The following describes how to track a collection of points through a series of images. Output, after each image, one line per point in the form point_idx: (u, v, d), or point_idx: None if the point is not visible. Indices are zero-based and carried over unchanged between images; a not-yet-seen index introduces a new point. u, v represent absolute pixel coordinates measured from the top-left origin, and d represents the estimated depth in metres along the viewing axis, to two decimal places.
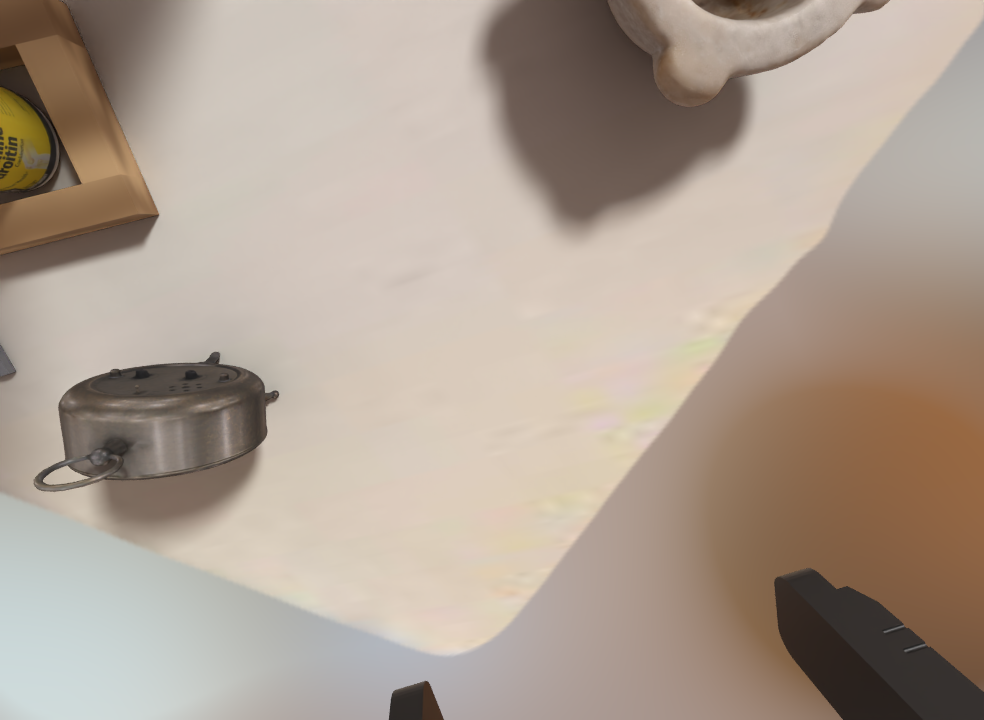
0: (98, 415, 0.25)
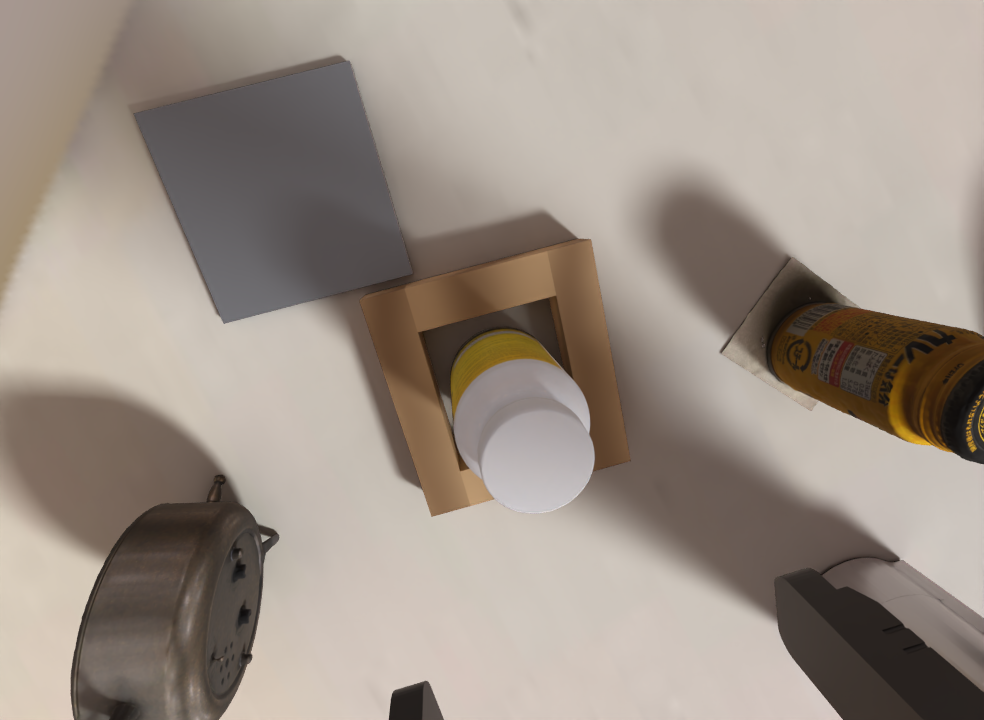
0: (172, 687, 0.19)
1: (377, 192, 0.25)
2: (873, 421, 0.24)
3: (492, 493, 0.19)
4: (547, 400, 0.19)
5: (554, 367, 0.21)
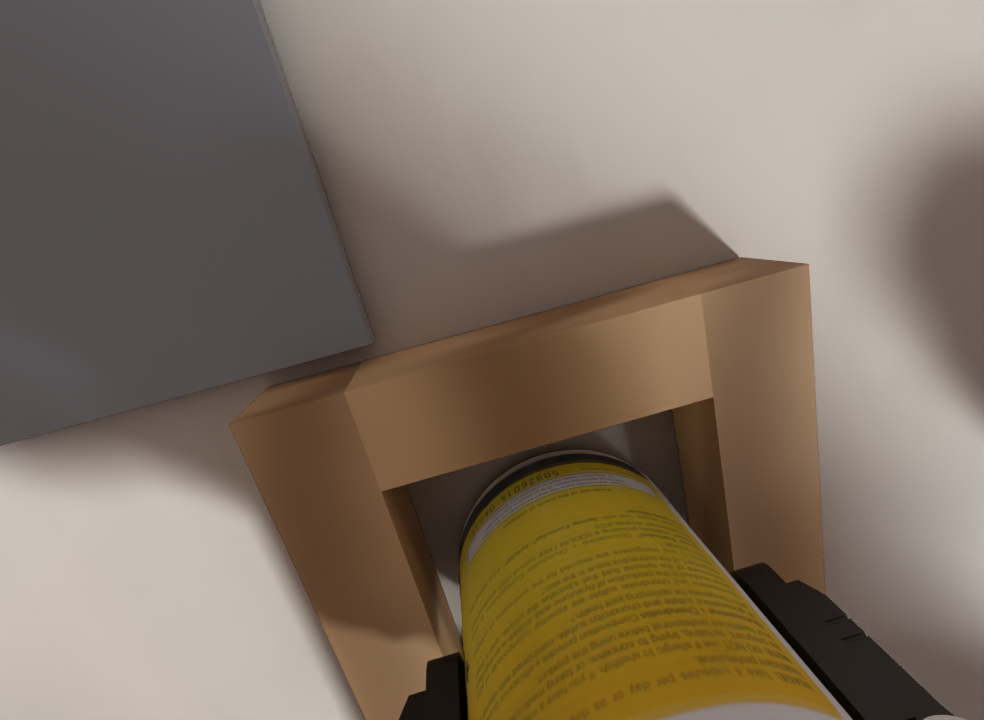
0: None
1: (276, 150, 0.10)
2: None
3: None
4: None
5: None
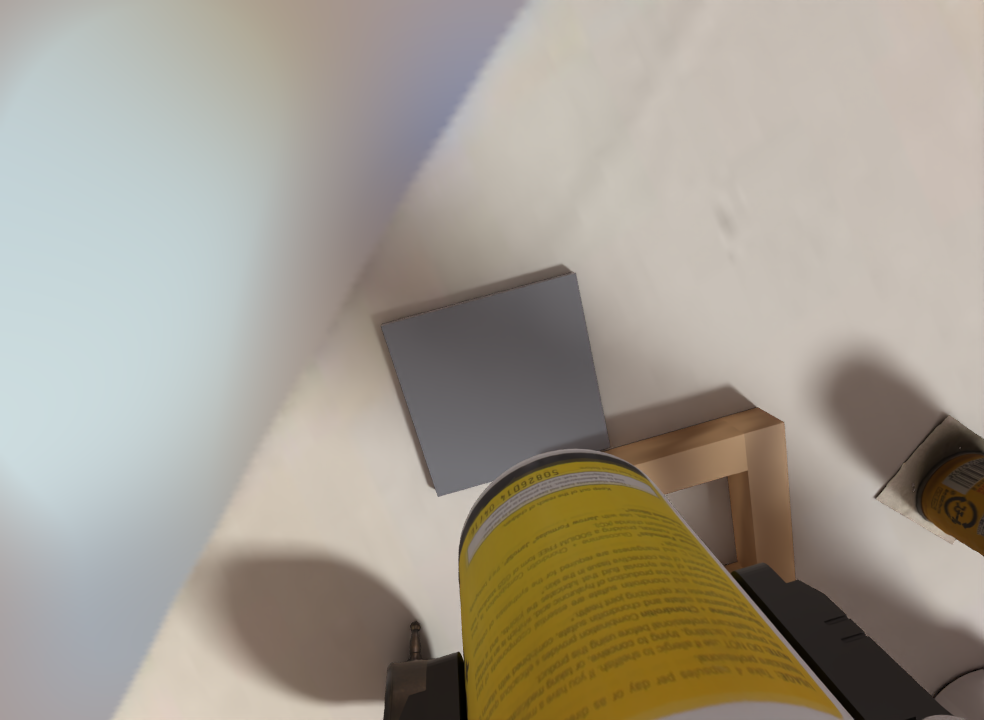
0: None
1: (587, 380, 0.27)
2: None
3: None
4: None
5: None
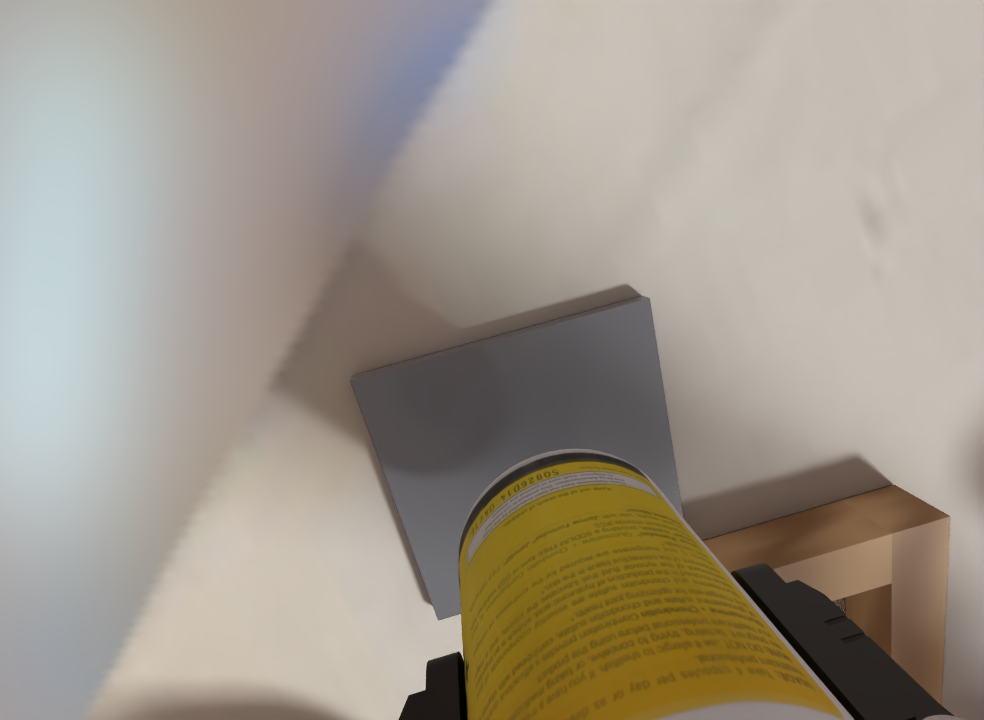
0: None
1: (659, 455, 0.18)
2: None
3: None
4: None
5: None
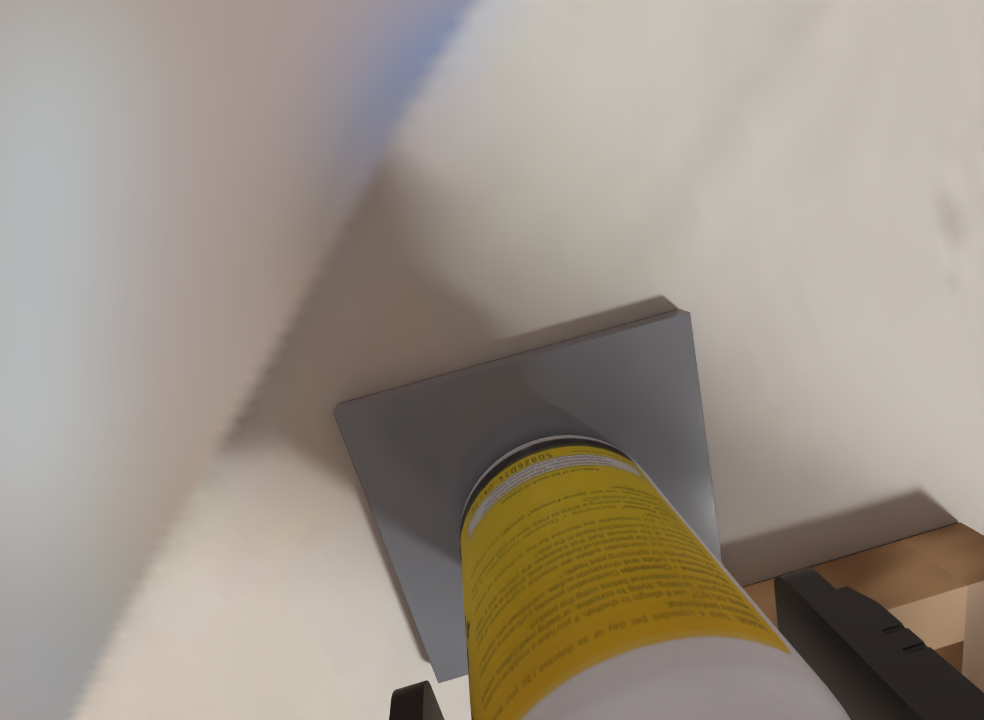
0: None
1: (696, 494, 0.16)
2: None
3: None
4: None
5: (783, 666, 0.07)
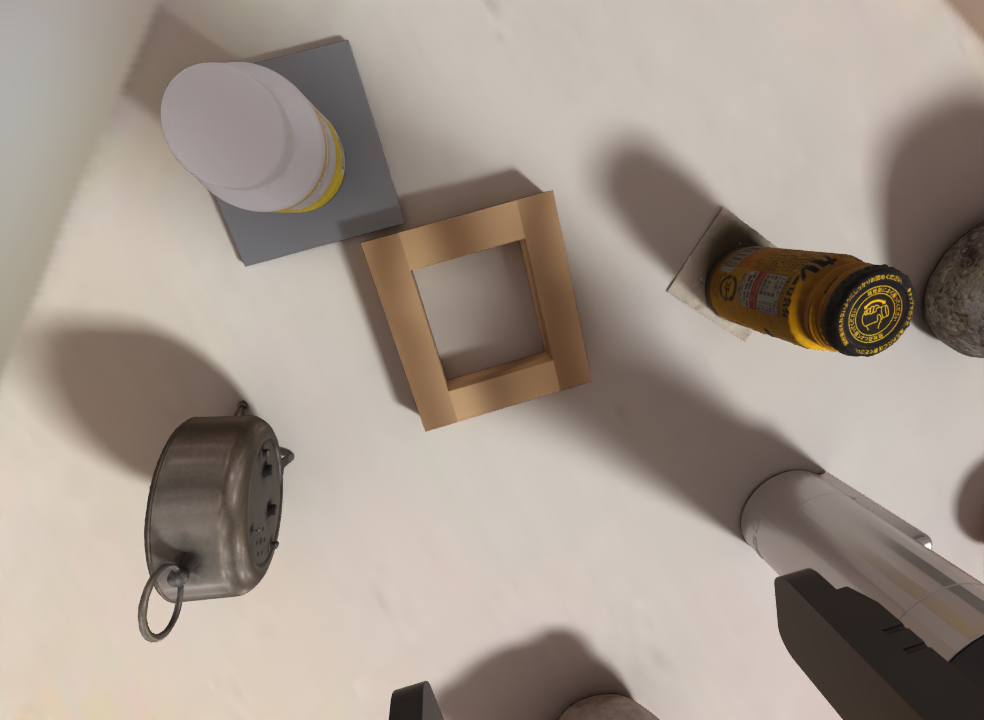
0: (224, 541, 0.25)
1: (373, 152, 0.30)
2: (780, 334, 0.30)
3: (179, 159, 0.19)
4: None
5: (274, 71, 0.21)
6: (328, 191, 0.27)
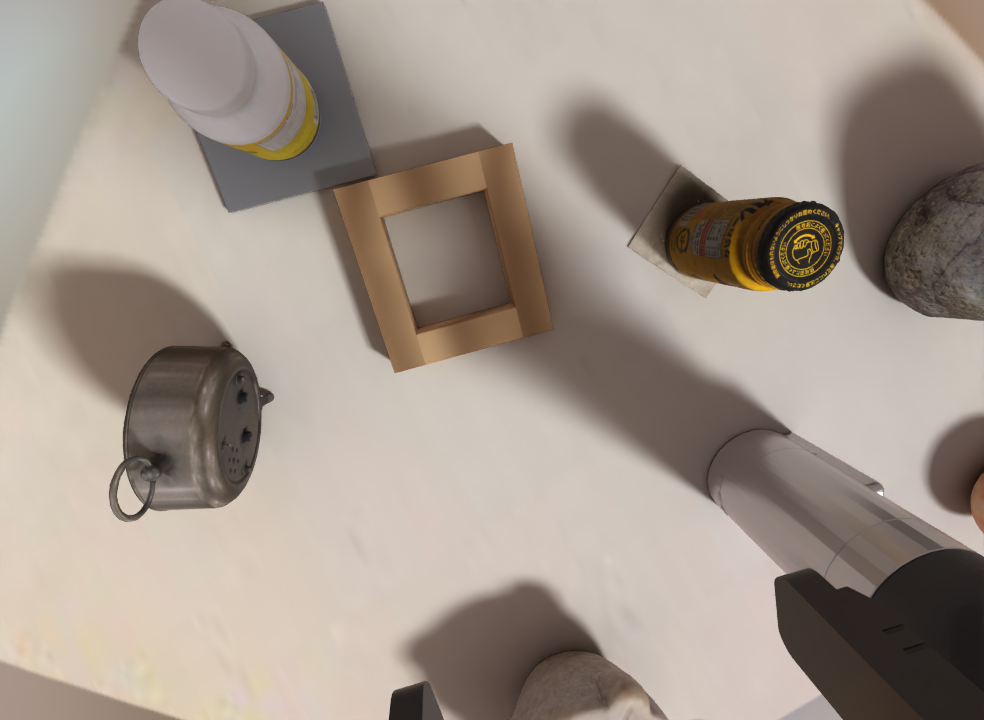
0: (195, 446, 0.27)
1: (346, 107, 0.33)
2: (725, 276, 0.32)
3: (154, 83, 0.21)
4: None
5: (244, 15, 0.24)
6: (300, 136, 0.30)
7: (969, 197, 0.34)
